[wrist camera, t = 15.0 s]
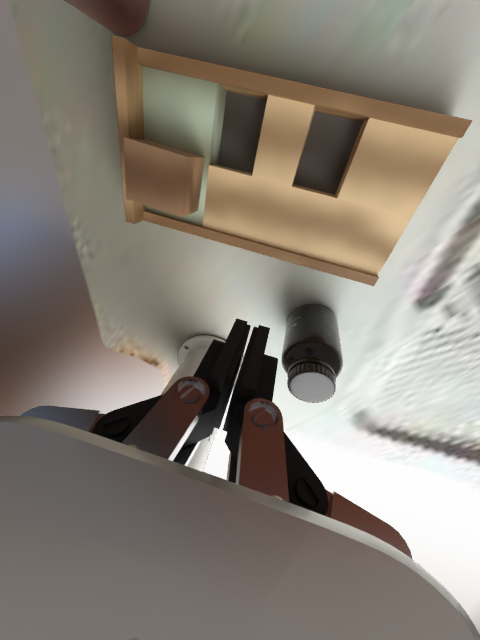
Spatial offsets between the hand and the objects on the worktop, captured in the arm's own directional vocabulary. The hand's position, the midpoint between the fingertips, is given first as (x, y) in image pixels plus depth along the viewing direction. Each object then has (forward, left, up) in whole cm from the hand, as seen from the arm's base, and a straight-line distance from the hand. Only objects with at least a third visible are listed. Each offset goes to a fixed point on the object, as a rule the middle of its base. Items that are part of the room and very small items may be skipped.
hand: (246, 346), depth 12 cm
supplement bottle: (-10, -7, -21) cm, 25 cm away
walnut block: (+4, +13, -18) cm, 22 cm away
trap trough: (+6, +3, -21) cm, 22 cm away
